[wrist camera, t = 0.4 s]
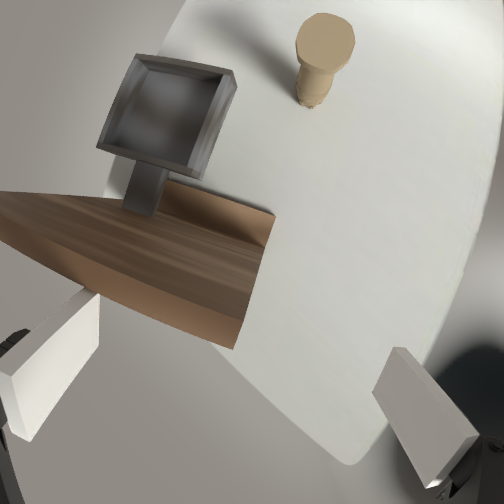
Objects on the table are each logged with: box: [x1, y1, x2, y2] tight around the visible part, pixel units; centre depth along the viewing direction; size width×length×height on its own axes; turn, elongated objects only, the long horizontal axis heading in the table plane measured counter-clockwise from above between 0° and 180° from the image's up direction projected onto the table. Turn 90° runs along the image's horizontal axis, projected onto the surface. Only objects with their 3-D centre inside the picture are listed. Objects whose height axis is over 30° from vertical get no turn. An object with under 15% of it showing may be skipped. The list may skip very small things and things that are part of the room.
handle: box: [296, 13, 355, 109], centre depth 29 cm, size 5×6×15 cm
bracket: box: [0, 54, 276, 350], centre depth 24 cm, size 16×18×28 cm
